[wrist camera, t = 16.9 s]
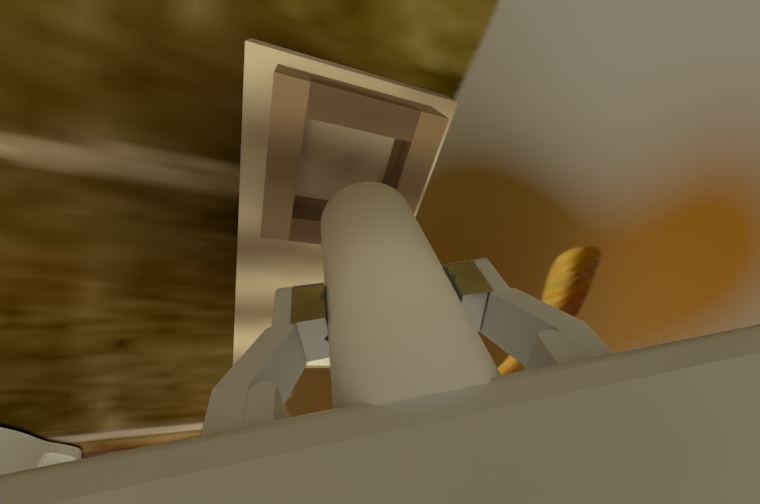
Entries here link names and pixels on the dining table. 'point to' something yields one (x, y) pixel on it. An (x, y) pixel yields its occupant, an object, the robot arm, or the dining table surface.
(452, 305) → the loose leg
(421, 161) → the wooden board with socket
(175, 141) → the dining table surface
